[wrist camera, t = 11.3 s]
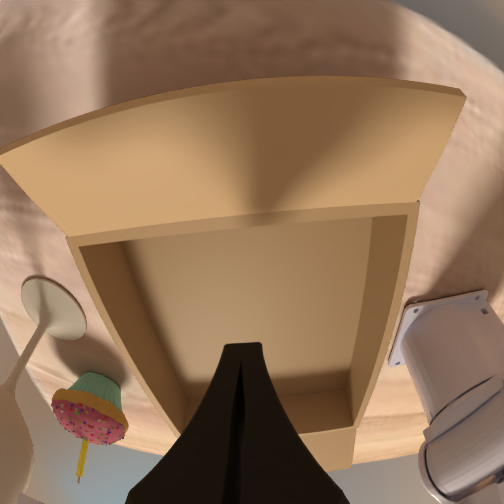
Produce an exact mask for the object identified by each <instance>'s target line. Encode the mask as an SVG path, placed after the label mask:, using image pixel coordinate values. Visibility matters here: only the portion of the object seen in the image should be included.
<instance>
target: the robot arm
mask: <svg viewBox="0 0 504 504" xmlns="http://www.w3.org/2000/svg"><path fill="white" fill-rule="evenodd" d="M487 296H488V291H487V290H486V289H484V290H480V291H476V292H471V293H466V294H462V295H457V296H452V297H447V298H442V299H437V300H432V301H427V302H421V303H415V304H410V305H408V306H406V308H405V309H404V313H403V316H402V320H401V323H400V326H399V330H398V333H397V336H396V339H395V343H394V346H393V349H392V352H391V355H390V358H389V360H388V366H389V367H396V366H400V365H405V364H406V365H407V368H408V370H409V373H410V375H411V378H412V380H413V383H414V385H415V388H416V390H417V393H418V395H419V398H420V401H421V403H422V406H423V409H424V411H425V414H426V417H427V420H428V423H429V425H430V426H429V427H428V428H426V429H425V430H424V431H423V434H424V437H425V441H424V442H423V443H422V445H421V447H420V449H419V454H418V473H419V477H420V480H421V482H422V484H423V486H424V488H425V489H426V490H427V492H428V493H429V494H431V495H432V496H433V497H435V499H436V500H437V501H438V502H439V503H440V504H504V324H503V323H502V321H501V320H500V318H499V317H498V316H497V314H496V313H495V311H494V310H493V309H492V307H491V306H490V305H489V303H488V302H487V301H486V299H487ZM17 504H44V503H42V502H40V501H38V500H36V499H33V498H31V497H29V496H27V495H25V494H23V493H22V492H20V493H19V496H18V500H17ZM125 504H350V503H349V501H348V500H347V498H346V496H345V495H344V493H343V491H342V490H341V489H340V488H339V487H338V485H336V483H335V482H334V481H333V480H332V479H331V478H330V477H329V476H328V474H327V473H326V472H325V471H324V469H323V468H322V467H321V466H320V464H319V463H318V462H317V461H316V459H315V458H314V456H313V455H312V454H311V452H310V451H309V450H308V448H307V447H306V445H305V444H304V443H303V441H302V439H301V438H300V436H299V435H298V433H297V432H296V430H295V428H294V427H293V425H292V423H291V421H290V420H289V418H288V416H287V414H286V412H285V410H284V408H283V406H282V404H281V402H280V400H279V398H278V396H277V393H276V391H275V389H274V386H273V384H272V381H271V379H270V376H269V373H268V370H267V367H266V363H265V360H264V355H263V347H262V343H260V342H248V343H230V344H226V345H224V347H223V351H222V354H221V357H220V360H219V363H218V366H217V368H216V371H215V373H214V376H213V378H212V380H211V382H210V385H209V387H208V389H207V391H206V393H205V395H204V397H203V399H202V401H201V403H200V405H199V406H198V408H197V410H196V412H195V414H194V415H193V417H192V419H191V420H190V422H189V423H188V425H187V426H186V428H185V429H184V431H183V432H182V434H181V435H180V437H179V438H178V439H177V441H176V442H175V443H174V445H173V446H172V447H171V449H170V450H169V451H168V452H167V453H166V455H165V456H164V457H163V458H162V459H161V460H160V461H159V462H158V464H157V465H156V466H155V467H154V468H153V469H152V470H151V471H150V472H149V473H148V474H147V475H146V476H145V477H144V478H143V479H142V480H141V481H140V482H139V483H137V484H136V485H135V486H134V487H133V488H132V489H131V490H130V491H129V493H128V496H127V499H126V502H125Z"/></svg>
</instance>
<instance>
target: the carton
mask: <svg viewBox="0 0 504 504" xmlns="http://www.w3.org/2000/svg"><path fill="white" fill-rule="evenodd" d="M419 207H420V201H418V200H417V202H408V203H388V204H371V205H355V206H340V207H326V208H313V209H300V210H288V211H277V212H266V213H255V214H245V215H235V216H226V217H216V218H207V219H198V220H189V221H181V222H173V223H164V224H156V225H149V226H141V227H133V228H126V229H119V230H112V231H105V232H98V233H91V234H84V235H78V236H71V237H68V236H66V237H65V238H66V240H67V243H68V245H69V248H70V250H71V253H72V255H73V258H74V260H75V263H76V265H77V267H78V270H79V272H80V274H81V276H82V279H83V281H84V283H85V285H86V287H87V290H88V292H89V294H90V296H91V298H92V300H93V302H94V304H95V306H96V308H97V310H98V312H99V314H100V316H101V318H102V320H103V322H104V324H105V326H106V328H107V330H108V331H109V333H110V335H111V337H112V339H113V341H114V342H115V344H116V346H117V348H118V349H119V351H120V353H121V355H122V356H123V358H124V360H125V361H126V363H127V365H128V366H129V368H130V370H131V371H132V373H133V375H134V376H135V378H136V379H137V381H138V382H139V384H140V386H141V387H142V389H143V390H144V392H145V393H146V395H147V396H148V398H149V399H150V401H151V402H152V404H153V405H154V407H155V408H156V409H157V411H158V412H159V414H160V415H161V417H162V418H163V419H164V421H165V422H166V423H167V425H168V426H169V428H170V429H171V430H172V432H173V433H174V434H175V436H176V437H177V438H179V437H180V435H181V434H182V432H183V431H184V429H185V428H186V426H187V425H188V423H189V422H190V420H191V419H192V417H193V415H194V414H195V412H196V410H197V408H198V406H199V405H200V403H201V401H202V399H203V397H204V395H205V393H206V391H207V389H208V387H209V385H210V382H211V380H212V378H213V376H214V373H215V371H216V368H217V366H218V363H219V360H220V357H221V354H222V351H223V347H224V345H226V344H230V343H248V342H260V343H262V347H263V355H264V360H265V363H266V367H267V370H268V373H269V376H270V379H271V381H272V384H273V386H274V389H275V391H276V393H277V396H278V398H279V400H280V402H281V404H282V406H283V408H284V410H285V412H286V414H287V416H288V418H289V420H290V421H291V423H292V425H293V427H294V428H295V430H296V432H297V433H298V435H299V436H308V435H316V434H323V433H330V432H336V431H342V430H348V429H353V428H358V427H359V425H360V422H361V420H362V418H363V415H364V413H365V410H366V408H367V405H368V403H369V400H370V398H371V395H372V393H373V390H374V387H375V385H376V382H377V379H378V376H379V374H380V371H381V368H382V365H383V362H384V359H385V356H386V353H387V350H388V346H389V343H390V340H391V337H392V333H393V330H394V326H395V323H396V319H397V316H398V312H399V308H400V304H401V300H402V296H403V292H404V288H405V284H406V279H407V275H408V270H409V265H410V260H411V255H412V250H413V245H414V239H415V233H416V227H417V221H418V214H419Z"/></svg>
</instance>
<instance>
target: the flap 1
mask: <svg viewBox="0 0 504 504" xmlns="http://www.w3.org/2000/svg"><path fill="white" fill-rule="evenodd" d="M466 98H467V97H466V96H465V95H464V94H463V92H462V91H461V90H460V89H458V88H453V87H447V86H442V85H436V84H429V83H422V82H415V81H407V80H398V79H387V78H374V77H357V76H290V77H272V78H259V79H248V80H239V81H230V82H222V83H215V84H208V85H202V86H196V87H190V88H185V89H179V90H174V91H169V92H164V93H160V94H155V95H151V96H146V97H142V98H138V99H134V100H130V101H127V102H123V103H119V104H116V105H112V106H109V107H105V108H102V109H99V110H95V111H92V112H89V113H86V114H83V115H80V116H77V117H74V118H72V119H69V120H66V121H63V122H61V123H58V124H55V125H53V126H50V127H48V128H45V129H43V130H40V131H38V132H35V133H33V134H31V135H28V136H26V137H24V138H22V139H19V140H17V141H15V142H13V143H11V144H9V145H6V146H4V147H2V148H1V149H0V164H1V165H2V166H3V168H4V169H5V170H6V171H7V172H8V173H9V175H10V176H11V177H12V178H13V179H14V180H15V182H16V183H17V184H18V185H19V186H20V187H21V188H22V189H23V191H24V192H25V193H26V194H27V195H28V196H29V197H30V198H31V199H32V200H33V201H34V203H35V204H36V205H37V206H38V207H39V208H40V209H41V210H42V211H43V212H44V213H45V214H46V215H47V216H48V217H49V218H50V219H51V220H52V221H53V222H54V223H55V224H56V225H57V226H58V227H59V228H60V229H61V230H62V231H63V232H64V233H65V234H66V235H67V236H68V237H71V236H78V235H84V234H91V233H98V232H105V231H112V230H119V229H126V228H133V227H141V226H149V225H156V224H164V223H173V222H181V221H189V220H198V219H207V218H216V217H226V216H235V215H245V214H255V213H266V212H277V211H288V210H300V209H313V208H326V207H340V206H355V205H371V204H388V203H408V202H417V200H418V199H419V197H420V195H421V193H422V191H423V189H424V188H425V186H426V184H427V182H428V180H429V178H430V176H431V174H432V172H433V170H434V168H435V166H436V164H437V162H438V160H439V158H440V156H441V154H442V152H443V150H444V148H445V146H446V144H447V142H448V139H449V137H450V135H451V133H452V131H453V129H454V126H455V124H456V122H457V119H458V117H459V115H460V112H461V110H462V108H463V105H464V103H465V100H466Z"/></svg>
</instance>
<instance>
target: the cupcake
mask: <svg viewBox="0 0 504 504" xmlns="http://www.w3.org/2000/svg"><path fill="white" fill-rule="evenodd" d="M51 406H52V407H53V413H54V414H55V415H56V417H57V420H58V421H59V422H60V424H61V425H62V426H63V427H64V428H66V430H68V431H69V432H71V433H72V434H74V435H75V436H76V437H78V438H81V439H83V442H82V446H81V451H80V457H79V461H78V467H77V473H76V475H77V476H78V483H79V480H80V477H82V475H83V469H84V464H85V458H86V453H87V448H88V443H95V444H106V445H107V444H109V445H110V444H112V443H115V442H117V441H119V440H121V439H124V436H125V435H124V434H125V433H126V431H127V430H128V422H127V420H126V418H125V415H124V414H123V411H122V406H121V391H120V388H119V387H118V385H117V384H116V383H115V382H113V381H112V380H111V379H109V378H107V377H105V376H103V375H101V374H98V373H93V372H87V373H84V374H83V375H82V376H81V377H80V378H79V379H78V380H77V381H76V382H75V383H74V384H73V385H72V386H71V387H70V388H69V389H67V390H66V389H63V388H61V389H59V390H57V391H56V392H55V394H54V395H53V398H52V404H51Z"/></svg>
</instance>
